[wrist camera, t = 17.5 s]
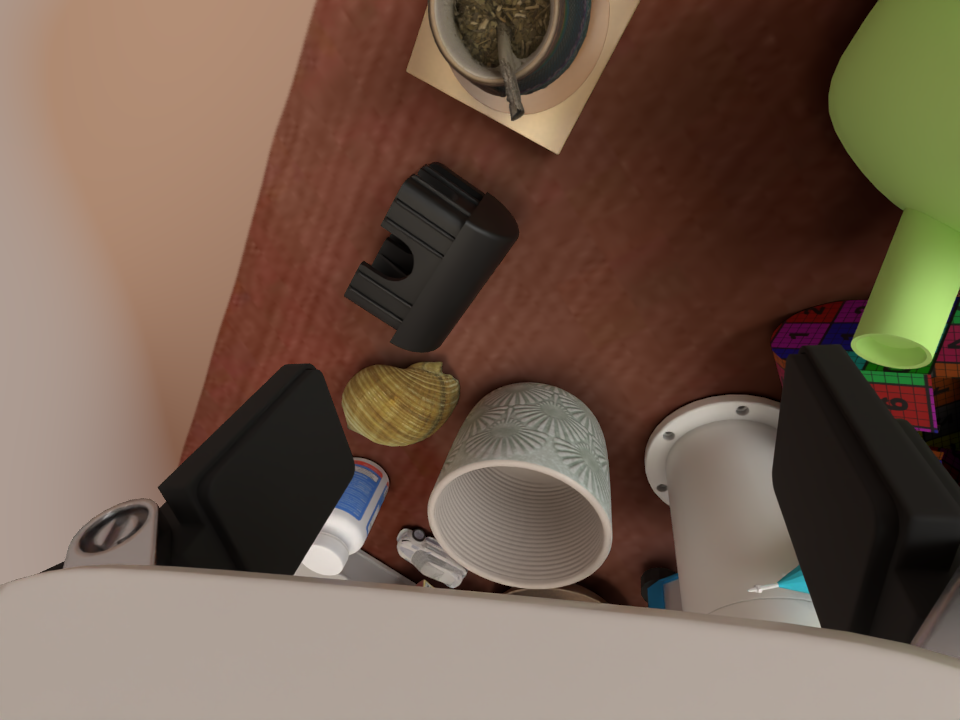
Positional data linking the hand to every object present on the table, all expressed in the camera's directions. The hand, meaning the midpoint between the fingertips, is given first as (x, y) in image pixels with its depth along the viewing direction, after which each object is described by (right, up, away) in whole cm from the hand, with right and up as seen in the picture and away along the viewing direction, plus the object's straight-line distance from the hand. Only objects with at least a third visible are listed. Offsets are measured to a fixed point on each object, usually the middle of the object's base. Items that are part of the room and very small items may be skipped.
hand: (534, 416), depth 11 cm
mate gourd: (+1, +19, +17) cm, 26 cm away
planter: (+4, -4, +34) cm, 34 cm away
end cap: (-3, +9, +26) cm, 28 cm away
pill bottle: (-12, -10, +41) cm, 44 cm away
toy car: (-6, -18, +44) cm, 48 cm away
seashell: (-7, -1, +34) cm, 35 cm away
